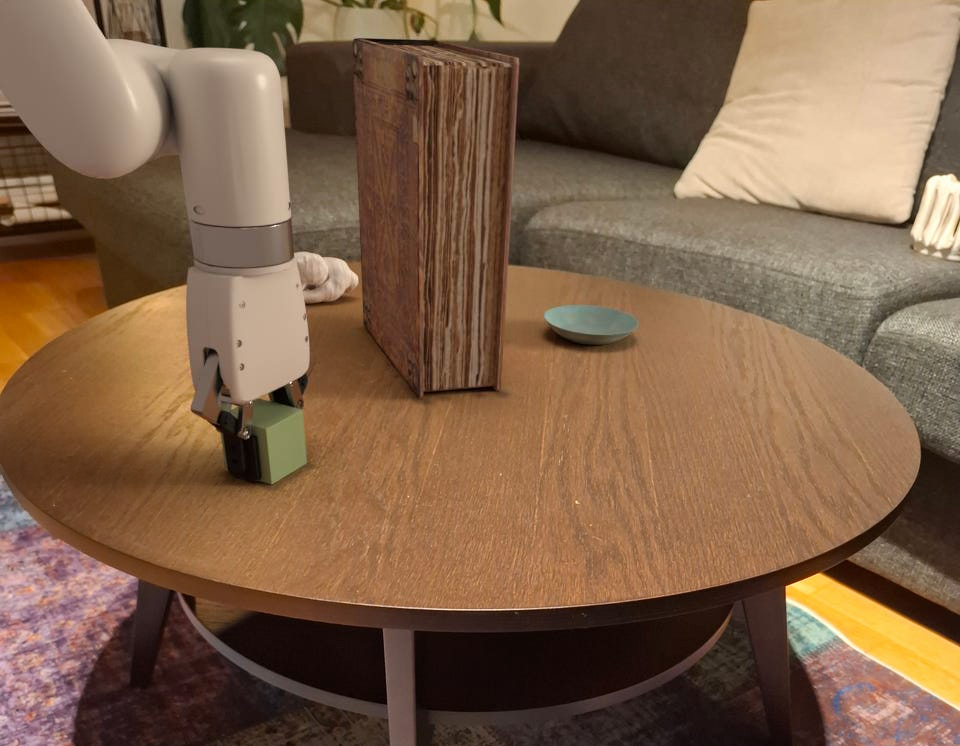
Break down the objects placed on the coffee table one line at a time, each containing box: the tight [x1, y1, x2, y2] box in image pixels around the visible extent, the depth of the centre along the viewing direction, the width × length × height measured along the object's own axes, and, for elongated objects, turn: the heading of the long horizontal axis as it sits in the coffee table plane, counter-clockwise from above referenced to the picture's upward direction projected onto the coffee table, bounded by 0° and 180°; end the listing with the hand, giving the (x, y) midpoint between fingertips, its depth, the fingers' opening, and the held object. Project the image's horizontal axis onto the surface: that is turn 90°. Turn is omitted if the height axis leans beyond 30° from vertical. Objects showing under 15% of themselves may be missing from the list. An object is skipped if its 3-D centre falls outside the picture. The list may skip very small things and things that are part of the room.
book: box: [351, 37, 520, 400], centre depth 95 cm, size 25×9×30 cm, turn 19°
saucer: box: [543, 304, 640, 346], centre depth 112 cm, size 12×12×2 cm
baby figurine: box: [294, 251, 359, 304], centre depth 119 cm, size 9×12×8 cm
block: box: [220, 398, 308, 485], centre depth 77 cm, size 5×5×5 cm
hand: (266, 462), depth 79 cm, fingers closed on block, 5 cm apart
